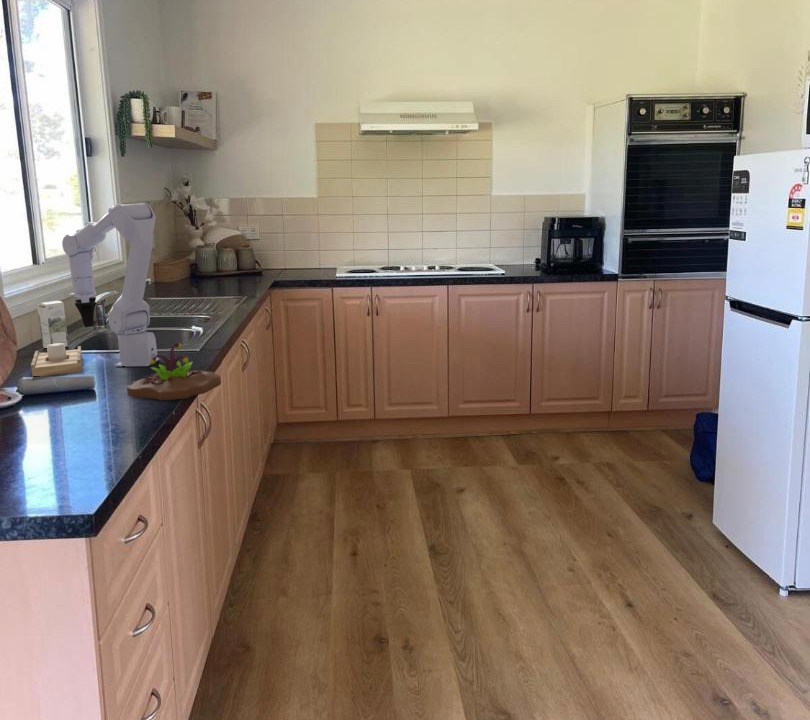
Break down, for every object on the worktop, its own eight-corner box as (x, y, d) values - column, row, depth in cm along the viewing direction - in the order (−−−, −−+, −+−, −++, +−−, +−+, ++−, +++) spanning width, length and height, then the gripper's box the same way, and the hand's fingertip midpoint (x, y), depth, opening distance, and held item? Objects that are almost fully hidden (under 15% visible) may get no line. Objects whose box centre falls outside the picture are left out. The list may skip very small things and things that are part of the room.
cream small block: (71, 363, 215) (68, 343, 213) (61, 368, 210) (58, 346, 209) (56, 364, 216) (53, 343, 214) (46, 368, 211) (42, 346, 210)
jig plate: (81, 371, 206) (80, 359, 205) (32, 377, 202) (30, 365, 201) (82, 357, 224) (80, 346, 224) (37, 362, 220) (35, 351, 219)
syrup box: (60, 345, 244) (54, 299, 240) (69, 347, 240) (63, 301, 237) (42, 348, 239) (35, 302, 236) (52, 350, 236) (45, 303, 232)
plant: (235, 382, 190) (231, 338, 187) (180, 403, 173) (175, 355, 170) (173, 376, 198) (168, 334, 196) (115, 396, 181) (109, 350, 179)
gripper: (67, 275, 222) (74, 322, 225) (66, 281, 209) (73, 330, 212) (93, 273, 225) (99, 319, 228) (94, 278, 212) (100, 327, 215)
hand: (88, 324), depth 220 cm, fingers open, 7 cm apart
